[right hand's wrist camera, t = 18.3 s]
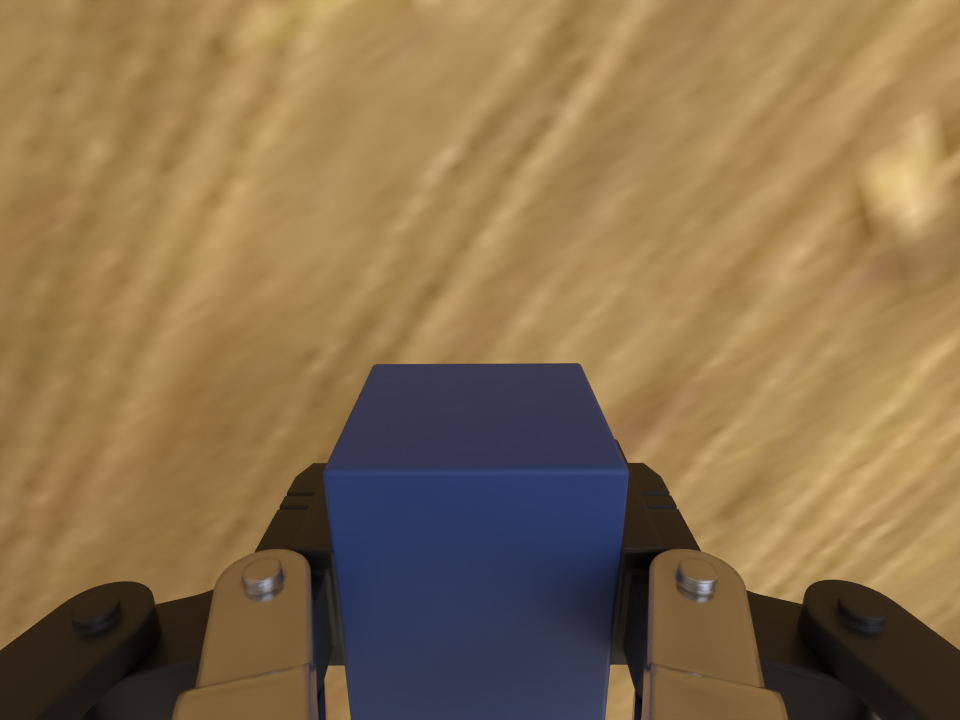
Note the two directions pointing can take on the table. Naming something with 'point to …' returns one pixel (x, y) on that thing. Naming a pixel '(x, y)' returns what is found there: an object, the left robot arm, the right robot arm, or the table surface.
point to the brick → (477, 543)
